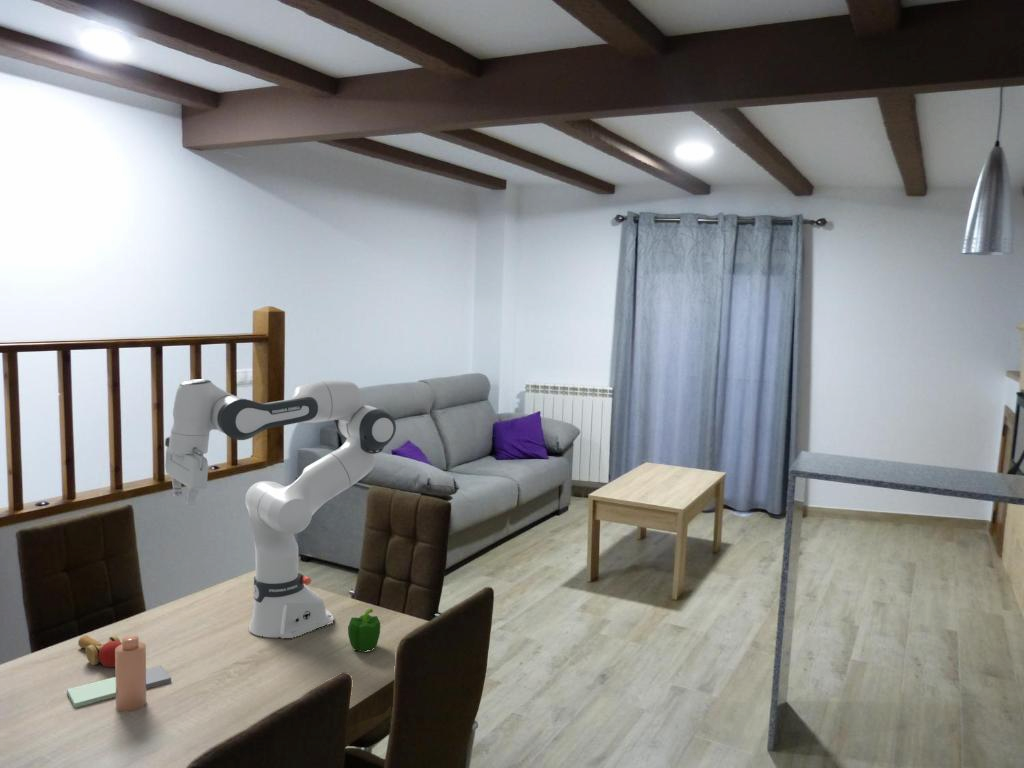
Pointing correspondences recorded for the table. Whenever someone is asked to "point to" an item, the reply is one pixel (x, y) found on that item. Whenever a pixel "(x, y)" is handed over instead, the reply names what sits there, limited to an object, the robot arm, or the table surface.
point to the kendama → (100, 650)
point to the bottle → (130, 674)
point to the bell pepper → (364, 631)
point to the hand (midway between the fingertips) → (183, 499)
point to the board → (112, 687)
